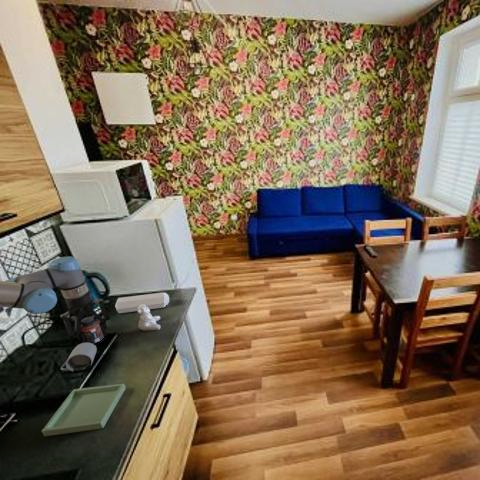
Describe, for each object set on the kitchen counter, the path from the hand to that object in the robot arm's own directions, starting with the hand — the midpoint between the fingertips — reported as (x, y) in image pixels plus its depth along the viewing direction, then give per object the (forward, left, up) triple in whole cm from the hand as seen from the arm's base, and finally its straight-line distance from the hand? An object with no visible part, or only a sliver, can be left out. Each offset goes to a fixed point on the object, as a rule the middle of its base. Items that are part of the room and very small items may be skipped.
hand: (95, 340), depth 113 cm
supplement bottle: (0, 0, -1) cm, 1 cm away
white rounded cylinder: (+10, +22, -1) cm, 24 cm away
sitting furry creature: (+19, +6, -1) cm, 20 cm away
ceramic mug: (+2, -13, -1) cm, 13 cm away
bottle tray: (+16, -33, 0) cm, 37 cm away
